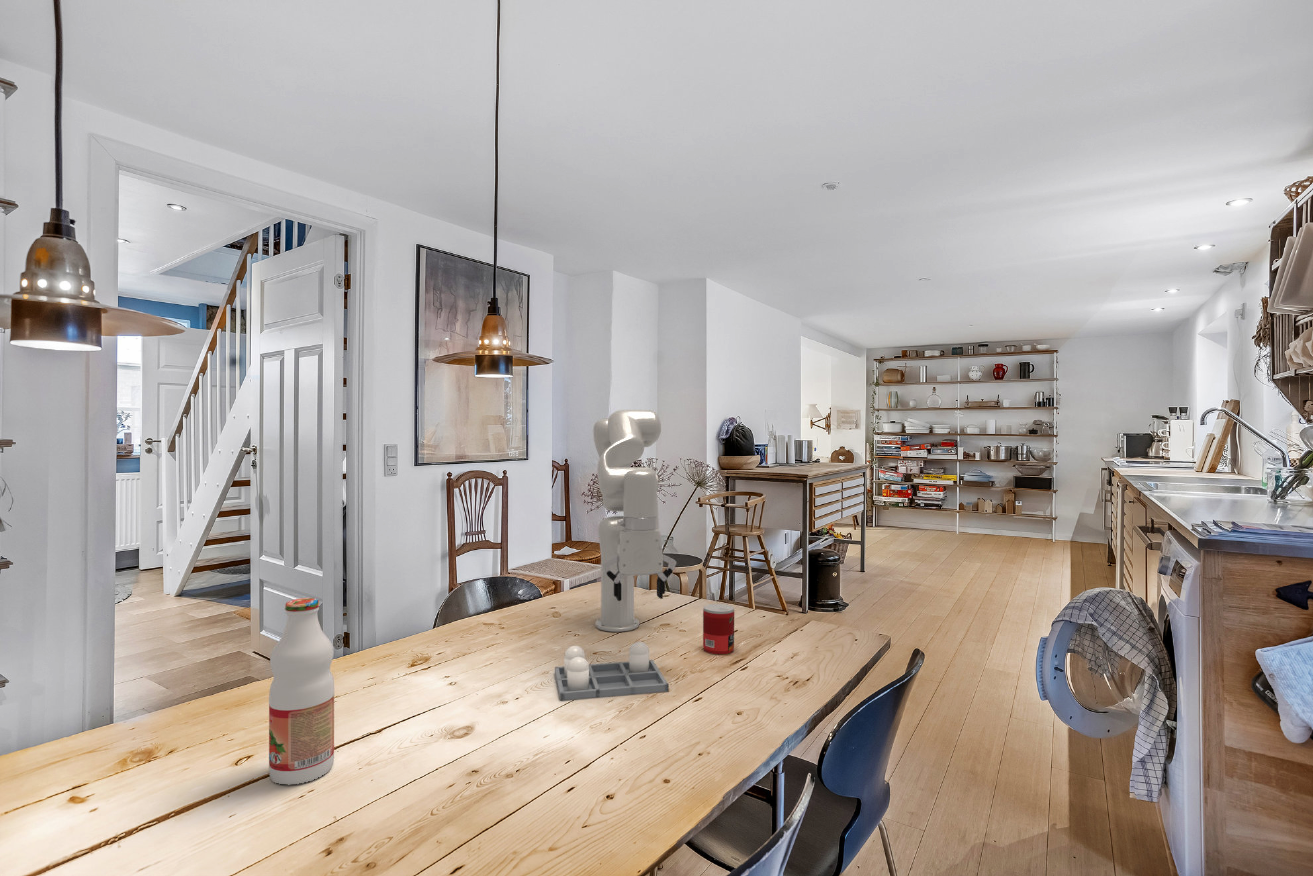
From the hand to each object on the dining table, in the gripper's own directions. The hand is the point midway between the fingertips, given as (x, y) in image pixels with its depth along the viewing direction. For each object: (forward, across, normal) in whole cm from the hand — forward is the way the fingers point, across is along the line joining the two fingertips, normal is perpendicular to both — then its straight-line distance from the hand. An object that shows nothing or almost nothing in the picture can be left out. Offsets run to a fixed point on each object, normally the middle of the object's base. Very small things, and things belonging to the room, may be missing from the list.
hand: (639, 598), depth 150 cm
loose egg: (+17, 0, 0) cm, 17 cm away
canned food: (+18, +24, +13) cm, 32 cm away
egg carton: (+18, -7, -4) cm, 20 cm away
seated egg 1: (+17, -15, 0) cm, 23 cm away
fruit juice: (+18, -62, -30) cm, 72 cm away
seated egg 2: (+17, -15, -8) cm, 24 cm away
